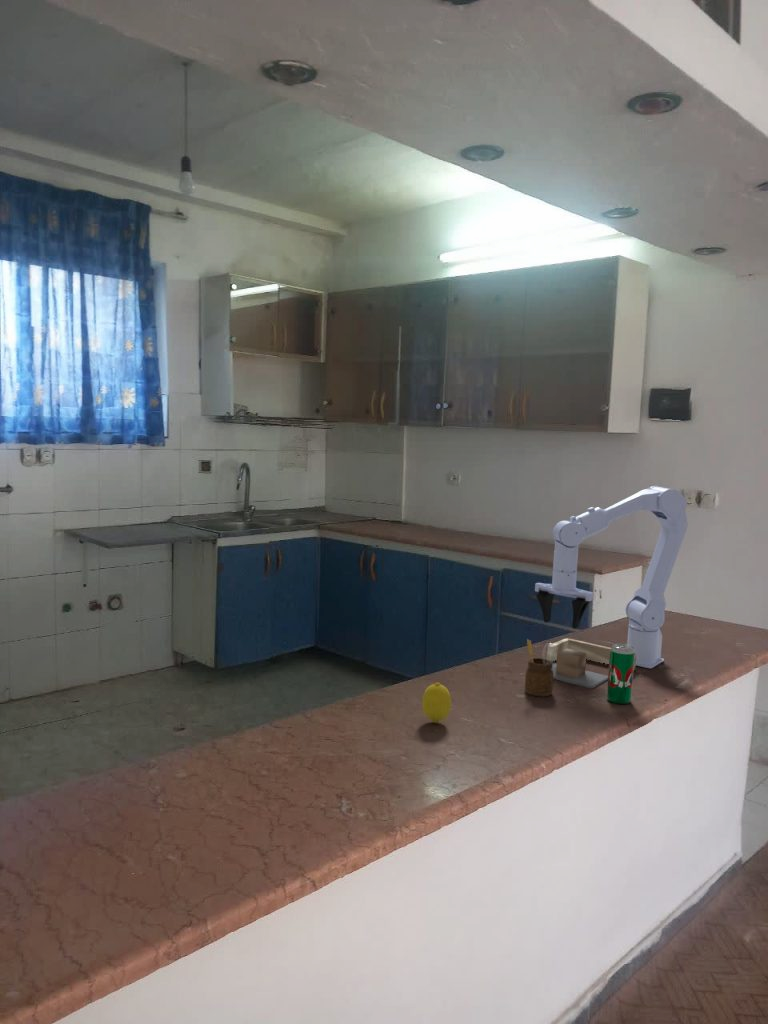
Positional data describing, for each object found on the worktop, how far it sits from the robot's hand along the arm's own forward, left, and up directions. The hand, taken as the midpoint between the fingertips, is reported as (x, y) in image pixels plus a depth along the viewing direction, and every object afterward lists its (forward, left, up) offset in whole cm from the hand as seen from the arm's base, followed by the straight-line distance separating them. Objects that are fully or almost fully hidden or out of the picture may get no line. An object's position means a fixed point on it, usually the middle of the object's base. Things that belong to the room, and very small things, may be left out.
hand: (561, 624), depth 191 cm
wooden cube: (+8, +7, -9) cm, 14 cm away
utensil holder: (+24, +7, -10) cm, 27 cm away
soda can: (+16, +22, -10) cm, 29 cm away
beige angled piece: (-2, +7, -9) cm, 12 cm away
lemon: (+54, +1, -10) cm, 55 cm away
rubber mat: (+8, +7, -9) cm, 14 cm away
